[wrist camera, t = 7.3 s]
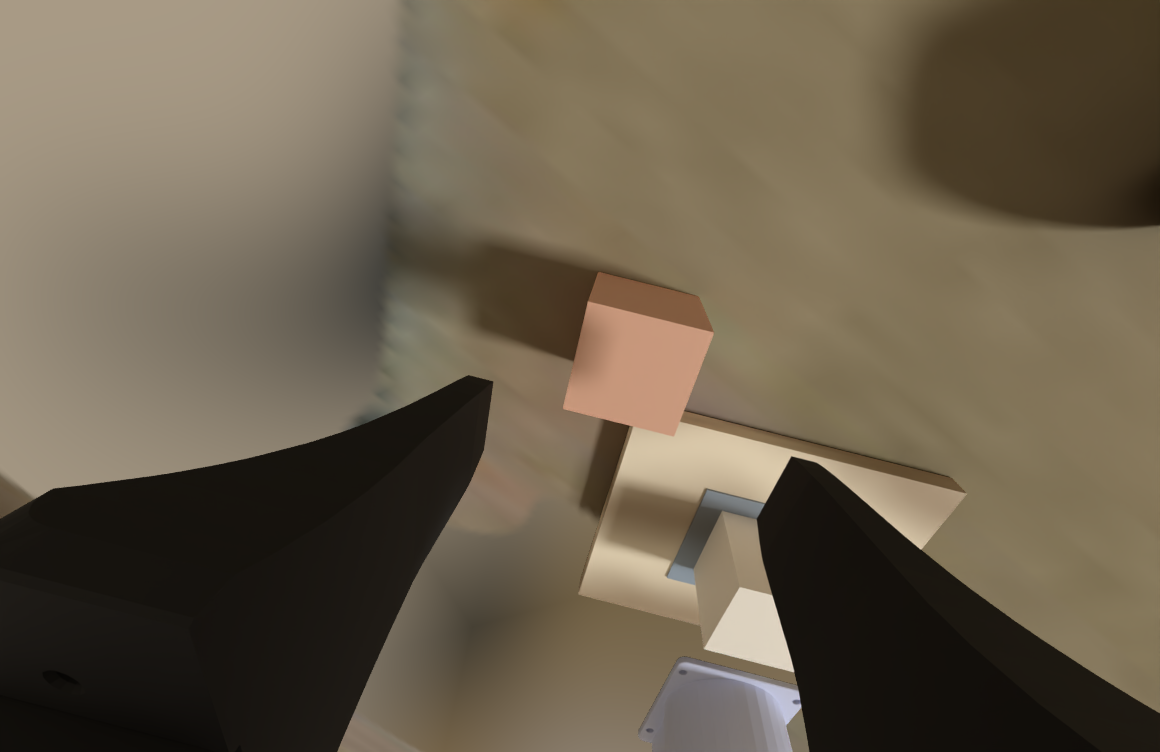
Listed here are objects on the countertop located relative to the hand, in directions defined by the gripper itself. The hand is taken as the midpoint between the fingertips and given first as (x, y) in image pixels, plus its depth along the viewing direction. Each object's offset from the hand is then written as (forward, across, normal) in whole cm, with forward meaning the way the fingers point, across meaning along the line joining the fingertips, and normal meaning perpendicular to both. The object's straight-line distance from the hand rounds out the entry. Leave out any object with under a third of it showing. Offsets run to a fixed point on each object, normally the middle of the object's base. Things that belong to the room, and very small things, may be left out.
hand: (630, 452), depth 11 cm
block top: (+8, 0, 0) cm, 8 cm away
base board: (+8, -8, +9) cm, 15 cm away
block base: (+7, -8, +9) cm, 14 cm away
